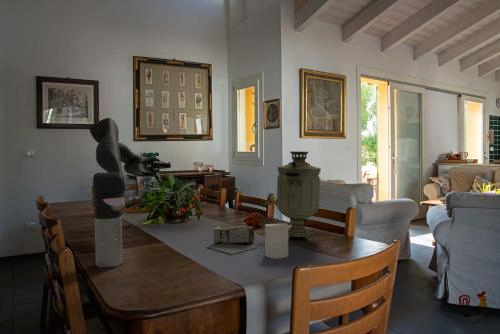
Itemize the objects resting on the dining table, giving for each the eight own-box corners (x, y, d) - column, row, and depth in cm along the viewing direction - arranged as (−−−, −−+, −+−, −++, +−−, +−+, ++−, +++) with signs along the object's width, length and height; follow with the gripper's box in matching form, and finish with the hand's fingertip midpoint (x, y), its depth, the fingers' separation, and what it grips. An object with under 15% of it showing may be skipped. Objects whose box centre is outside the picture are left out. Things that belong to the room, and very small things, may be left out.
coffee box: (213, 243, 168) (249, 245, 163) (213, 228, 168) (248, 230, 163) (220, 238, 177) (254, 240, 172) (220, 224, 176) (254, 226, 172)
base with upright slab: (269, 259, 145) (269, 227, 144) (262, 253, 153) (262, 223, 153) (291, 257, 147) (291, 226, 146) (283, 251, 156) (283, 221, 155)
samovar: (281, 228, 200) (281, 151, 198) (330, 233, 187) (330, 151, 185) (252, 240, 174) (251, 151, 173) (306, 247, 161) (306, 151, 159)
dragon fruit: (266, 228, 208) (245, 233, 204) (260, 217, 214) (239, 222, 210) (268, 217, 202) (247, 222, 198) (261, 206, 208) (241, 211, 204)
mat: (256, 248, 161) (256, 247, 161) (231, 254, 151) (231, 253, 151) (231, 241, 172) (231, 241, 172) (206, 247, 162) (206, 246, 162)
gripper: (137, 157, 183) (156, 157, 170) (161, 156, 192) (181, 157, 180) (137, 173, 183) (156, 174, 171) (161, 172, 192) (181, 173, 180)
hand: (169, 165), depth 175 cm, fingers closed
